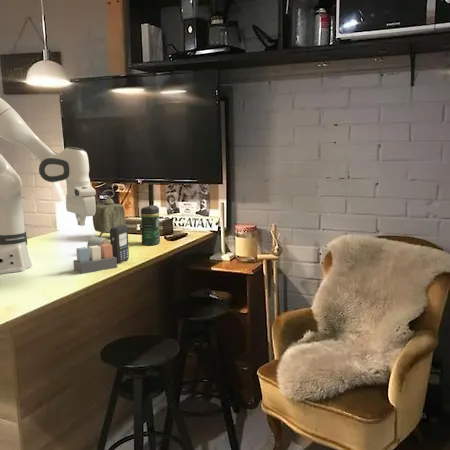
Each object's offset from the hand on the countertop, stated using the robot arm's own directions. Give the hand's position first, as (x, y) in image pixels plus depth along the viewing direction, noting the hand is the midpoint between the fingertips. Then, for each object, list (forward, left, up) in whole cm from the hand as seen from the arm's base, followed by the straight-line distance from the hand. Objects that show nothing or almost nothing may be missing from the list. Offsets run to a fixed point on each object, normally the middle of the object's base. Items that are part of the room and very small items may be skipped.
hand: (81, 225), depth 214 cm
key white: (+5, 0, -15) cm, 16 cm away
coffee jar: (+46, +28, -18) cm, 57 cm away
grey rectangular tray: (+5, 0, -18) cm, 19 cm away
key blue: (0, 0, -15) cm, 15 cm away
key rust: (+10, 0, -15) cm, 18 cm away
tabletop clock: (+37, +53, -18) cm, 67 cm away
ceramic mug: (+19, +25, -19) cm, 37 cm away
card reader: (+18, +4, -18) cm, 26 cm away
